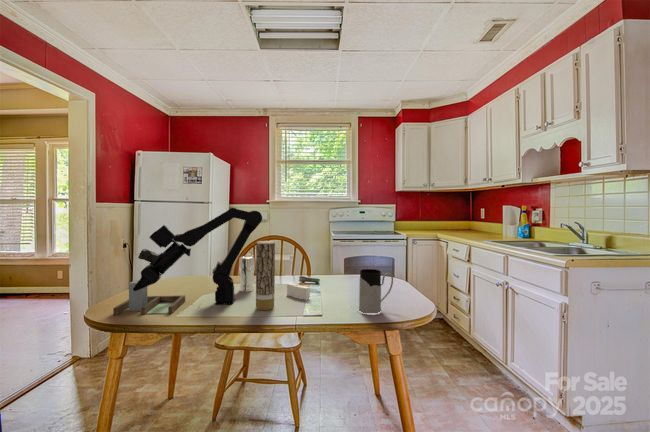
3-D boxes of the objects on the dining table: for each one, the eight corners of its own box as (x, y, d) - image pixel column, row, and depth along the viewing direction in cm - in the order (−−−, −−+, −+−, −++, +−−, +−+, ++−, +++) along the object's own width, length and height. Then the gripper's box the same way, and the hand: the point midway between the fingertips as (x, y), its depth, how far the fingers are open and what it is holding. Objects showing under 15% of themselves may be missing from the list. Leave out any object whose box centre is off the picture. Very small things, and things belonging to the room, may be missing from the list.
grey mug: (353, 309, 123) (354, 269, 122) (385, 305, 128) (386, 267, 128) (365, 316, 115) (366, 274, 114) (399, 312, 120) (399, 271, 120)
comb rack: (185, 301, 130) (185, 295, 130) (172, 313, 115) (172, 306, 115) (133, 302, 128) (133, 296, 128) (113, 315, 113) (113, 308, 113)
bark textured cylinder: (258, 312, 118) (259, 242, 118) (253, 307, 124) (254, 241, 124) (276, 309, 121) (277, 242, 121) (270, 304, 127) (271, 240, 127)
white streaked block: (250, 292, 145) (250, 258, 145) (236, 291, 147) (236, 258, 146) (256, 288, 152) (257, 256, 152) (242, 288, 153) (243, 256, 153)
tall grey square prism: (147, 306, 123) (147, 280, 122) (142, 310, 118) (142, 283, 118) (134, 307, 122) (134, 280, 122) (128, 310, 118) (128, 283, 117)
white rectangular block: (315, 301, 134) (316, 287, 134) (288, 303, 131) (288, 289, 131) (306, 292, 149) (307, 280, 149) (282, 294, 145) (282, 281, 145)
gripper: (157, 239, 130) (125, 267, 127) (148, 244, 112) (111, 277, 109) (179, 258, 133) (148, 287, 129) (173, 266, 115) (137, 299, 112)
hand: (136, 287), depth 120 cm, fingers open, 9 cm apart
